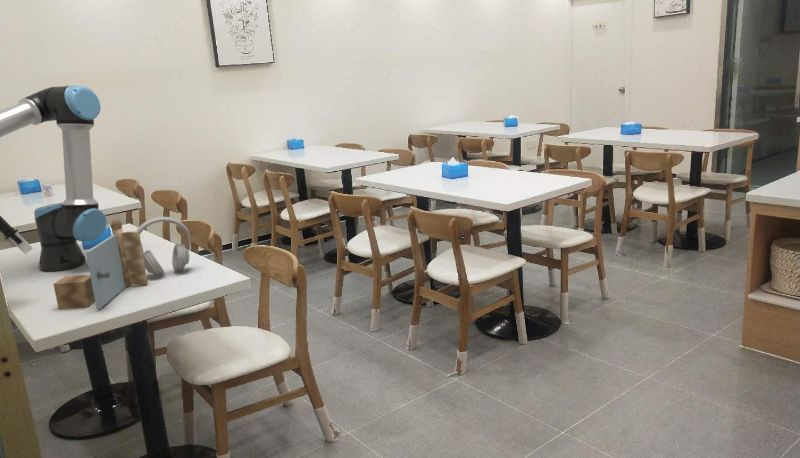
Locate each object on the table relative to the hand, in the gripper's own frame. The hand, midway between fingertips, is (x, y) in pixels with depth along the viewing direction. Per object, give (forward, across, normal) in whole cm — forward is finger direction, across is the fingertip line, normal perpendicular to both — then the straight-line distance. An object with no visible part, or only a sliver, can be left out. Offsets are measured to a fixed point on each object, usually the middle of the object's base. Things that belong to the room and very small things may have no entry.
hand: (29, 251), depth 186 cm
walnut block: (+20, +10, 0) cm, 23 cm away
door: (+26, +12, +9) cm, 30 cm away
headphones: (+34, -3, +24) cm, 42 cm away
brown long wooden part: (+28, +3, +14) cm, 32 cm away
